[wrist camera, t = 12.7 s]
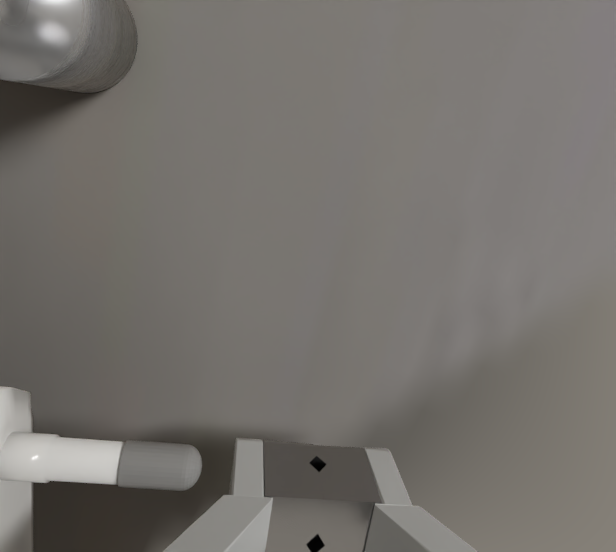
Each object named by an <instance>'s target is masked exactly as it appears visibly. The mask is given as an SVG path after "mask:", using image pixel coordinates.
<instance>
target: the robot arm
mask: <svg viewBox="0 0 616 552" xmlns="http://www.w3.org/2000/svg"><path fill="white" fill-rule="evenodd" d="M162 552H478V551H477V550H475V549H474V548H473V547H472V546H470V545H469V544H468V543H466V542H465V541H464V540H463V539H461V538H460V537H459V536H457V535H456V534H455V533H454V532H452V531H451V530H450V529H448V528H447V527H446V526H445V525H443V524H442V523H441V522H439V521H438V520H437V519H436V518H434V517H433V516H432V515H431V514H429V513H428V512H427V511H426V510H424V509H423V508H422V507H420V506H412V503H411V501H410V498H409V496H408V493H407V491H406V488H405V486H404V484H403V481H402V479H401V476H400V474H399V471H398V469H397V466H396V464H395V461H394V459H393V457H392V454H391V452H390V450H388V449H387V448H370V447H362V448H359V447H340V446H322V445H313V444H305V443H294V442H283V441H273V440H263V441H262V439H250V438H236V441H235V448H234V456H233V464H232V472H231V480H230V488H229V495H223V496H222V497H221V498H220V499H218V500H217V501H216V502H215V503H214V504H213V505H212V506H211V507H210V508H209V509H208V510H207V511H206V512H204V513H203V514H202V515H201V516H200V517H199V518H198V519H197V520H196V521H195V522H194V523H193V524H192V525H190V526H189V527H188V528H187V529H186V530H185V531H184V532H183V533H182V534H181V535H180V536H179V537H178V538H176V539H175V540H174V541H173V542H172V543H171V544H170V545H169V546H168V547H167V548H166V549H165V550H164V551H162Z"/></svg>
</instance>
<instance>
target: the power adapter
mask: <svg viewBox="0 0 616 552" xmlns="http://www.w3.org/2000/svg"><path fill="white" fill-rule="evenodd" d="M201 470H202V459H201V455H200V453H199V451H198V450H197V449H196V448H195V447H194V446H192V445H189V444H178V443H164V442H150V441H136V440H127V441H126V442H121V441H107V440H93V439H79V438H65V437H60V436H59V435H57V434H43V433H34V417H33V413H32V408H31V392H28V391H24V390H20V389H16V388H13V387H3V386H0V552H33V551H34V482H38V483H48V482H49V481H63V482H80V483H96V484H112V485H118V486H119V487H125V488H141V489H158V490H175V491H185V490H188V489H190V488H191V487H192V486H194V485H195V483H196V482H197V481H198V479H199V477H200V474H201Z"/></svg>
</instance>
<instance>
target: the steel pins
mask: <svg viewBox="0 0 616 552" xmlns="http://www.w3.org/2000/svg"><path fill="white" fill-rule="evenodd" d="M136 51H137V30H136V25H135V21H134V18H133V15H132V13H131V11H130V9H129V7H128V5H127V3H126V2H125V1H124V0H0V79H1V80H7V81H13V82H19V83H25V84H31V85H37V86H43V87H49V88H56V89H62V90H68V91H74V92H81V93H94V92H100V91H103V90H106V89H108V88H110V87H112V86H114V85H115V84H117V83H118V82H119V81H120V80H122V79H123V78H124V76H125V75H126V74H127V73H128V71H129V70H130V68H131V66H132V64H133V61H134V59H135V55H136Z"/></svg>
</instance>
